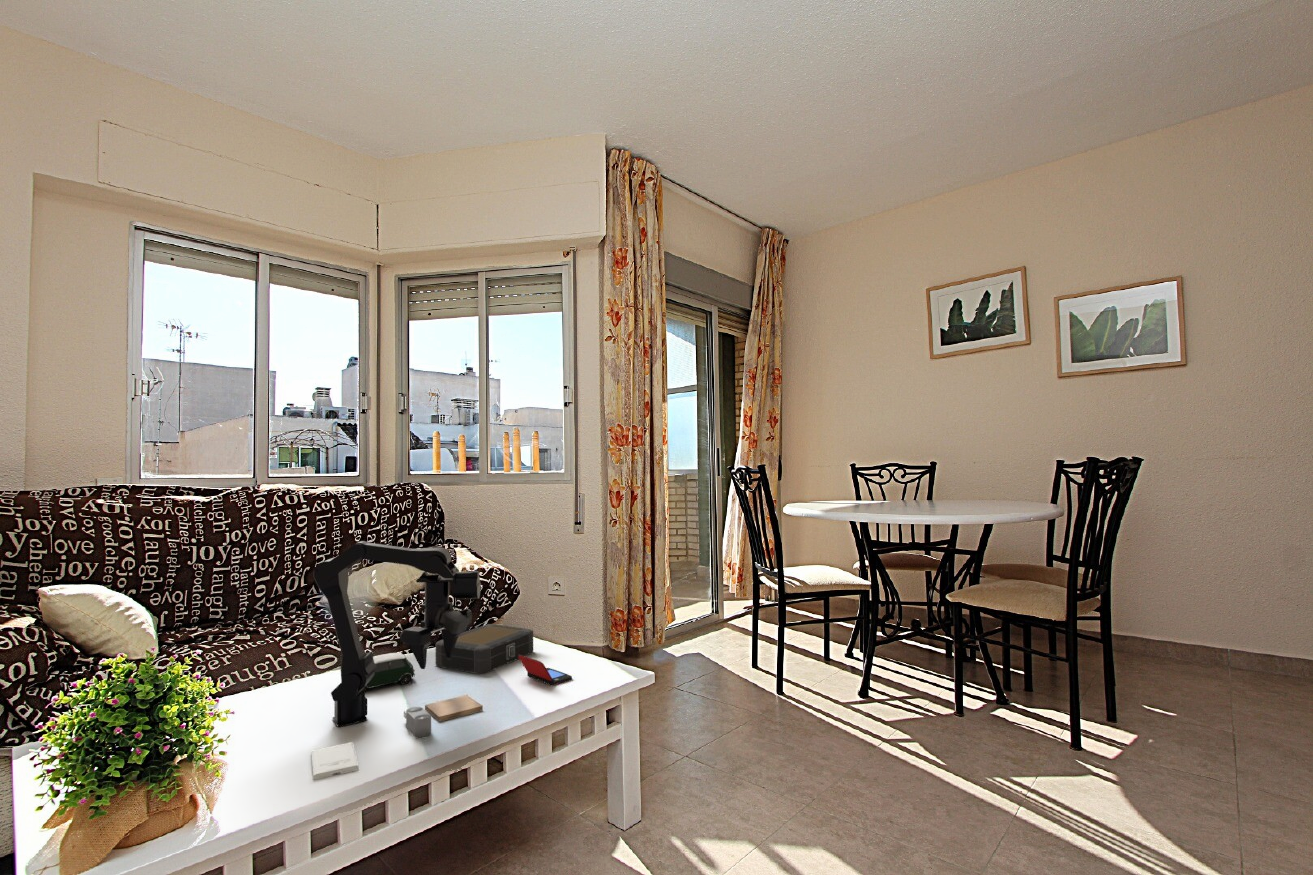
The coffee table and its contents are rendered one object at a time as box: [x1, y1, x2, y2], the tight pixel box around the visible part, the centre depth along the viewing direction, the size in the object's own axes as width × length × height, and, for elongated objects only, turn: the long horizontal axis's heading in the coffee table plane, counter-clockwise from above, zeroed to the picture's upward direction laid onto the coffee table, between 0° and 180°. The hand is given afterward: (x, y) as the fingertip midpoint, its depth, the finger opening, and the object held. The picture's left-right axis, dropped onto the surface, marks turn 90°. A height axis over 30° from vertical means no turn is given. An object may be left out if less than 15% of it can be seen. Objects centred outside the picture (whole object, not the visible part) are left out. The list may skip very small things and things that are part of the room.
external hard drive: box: [310, 742, 359, 781], centre depth 137 cm, size 2×8×12 cm
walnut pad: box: [424, 694, 484, 723], centre depth 165 cm, size 11×10×1 cm
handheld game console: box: [518, 654, 573, 686], centre depth 188 cm, size 12×11×7 cm
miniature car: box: [363, 652, 416, 693], centre depth 185 cm, size 9×18×8 cm, turn 127°
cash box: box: [435, 623, 534, 675], centre depth 207 cm, size 25×20×8 cm
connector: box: [403, 706, 432, 739], centre depth 154 cm, size 4×12×4 cm, turn 38°
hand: (436, 663), depth 162 cm, fingers open, 9 cm apart
